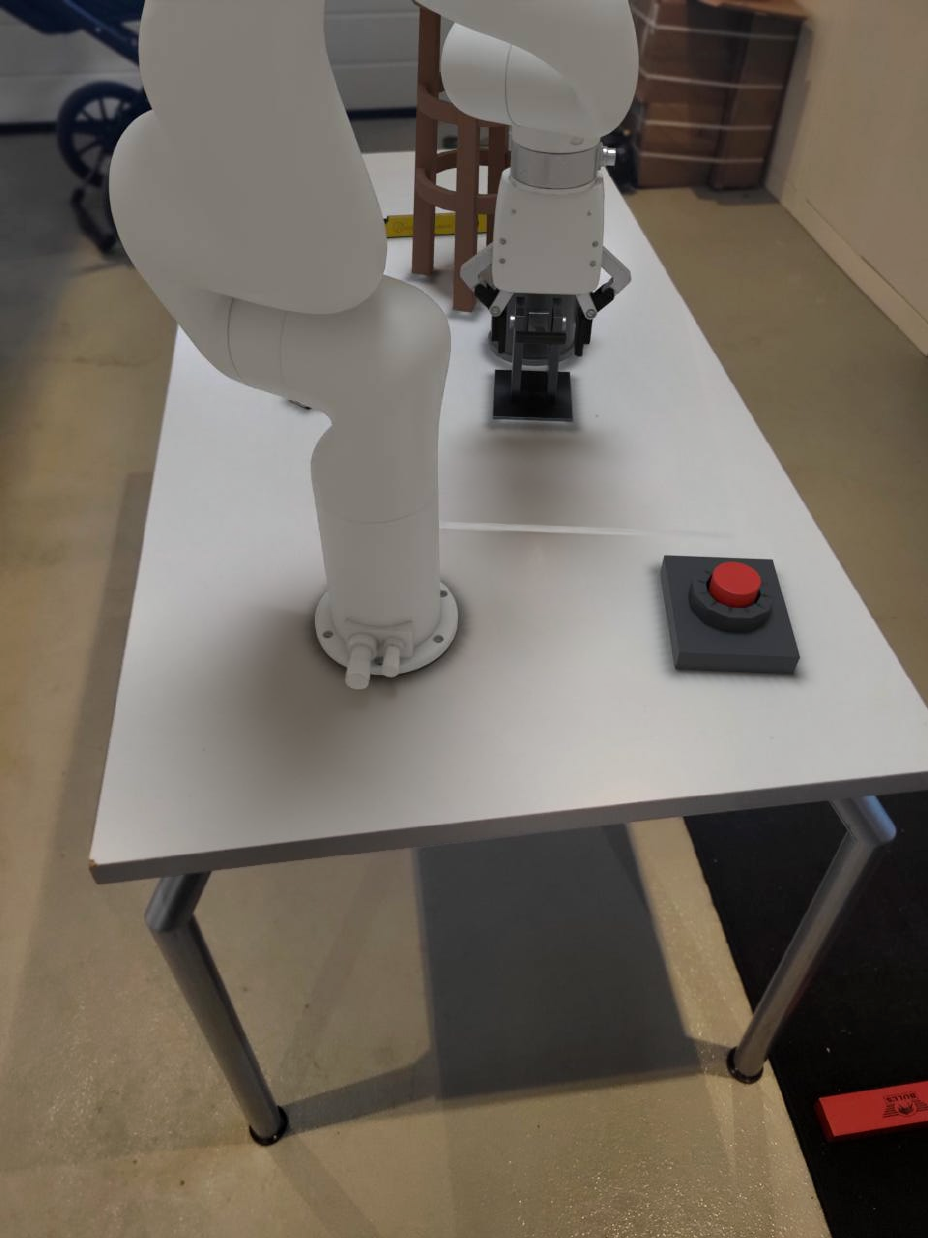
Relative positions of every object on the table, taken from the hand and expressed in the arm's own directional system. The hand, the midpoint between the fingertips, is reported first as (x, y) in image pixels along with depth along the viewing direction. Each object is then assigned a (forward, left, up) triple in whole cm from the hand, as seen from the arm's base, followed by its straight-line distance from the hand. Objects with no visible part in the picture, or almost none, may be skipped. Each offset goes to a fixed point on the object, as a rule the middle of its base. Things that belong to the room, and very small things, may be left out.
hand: (539, 347), depth 89 cm
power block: (-26, -17, -12) cm, 33 cm away
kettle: (+21, -1, -12) cm, 24 cm away
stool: (+37, +7, -12) cm, 39 cm away
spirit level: (+51, +23, -12) cm, 58 cm away
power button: (-26, -17, -8) cm, 32 cm away
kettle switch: (+4, 0, -1) cm, 4 cm away
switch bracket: (+8, 0, -12) cm, 14 cm away
